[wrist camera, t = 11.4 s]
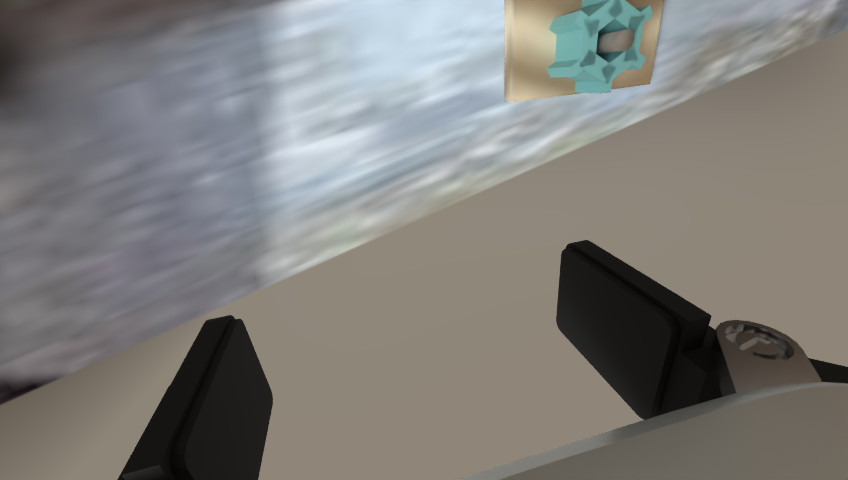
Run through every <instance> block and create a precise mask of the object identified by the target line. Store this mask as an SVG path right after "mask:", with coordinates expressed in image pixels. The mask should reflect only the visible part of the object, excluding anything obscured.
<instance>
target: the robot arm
mask: <svg viewBox="0 0 848 480" xmlns="http://www.w3.org/2000/svg"><path fill="white" fill-rule="evenodd" d="M710 319H711V315H710V314H708V313H706V312H705V311H703V310H701V309H700V308H698V307H696V306H695V305H693V304H692V303H690V302H688V301H687V300H685V299H684V298H682V297H680V296H679V295H677V294H675V293H674V292H672V291H670V290H669V289H667V288H666V287H664V286H662V285H661V284H659V283H657V282H656V281H654V280H652V279H651V278H649V277H648V276H646V275H644V274H642V273H641V272H639V271H638V270H636V269H634V268H633V267H631V266H629V265H628V264H626V263H625V262H623V261H621V260H620V259H618V258H616V257H615V256H613V255H611V254H610V253H608V252H606V251H605V250H603V249H602V248H600V247H599V246H597V245H595V244H593V243H592V242H590V241H588V240H584V241H579V242H574V243H570V244H568V245H567V246H566V249H564V250H563V251H562V254H561V266H560V278H559V291H558V304H557V317H556V322H557V325H558V328H559V330H560V331H561V332H562V333H563V334H564V335H565V336H566V338H567V339H569V341H570V342H571V343H572V344H573V345H574V346H575V347H576V348H577V349H578V351H579V352H580V353H581V354H582V355H583V356H584V357H585V358H586V359H587V360H588V361H589V363H590V364H591V365H592V366H593V367H594V368H595V369H596V370H597V371H598V372H599V373H600V375H601V376H602V377H603V378H604V379H605V380H606V381H607V382H608V383H609V384H610V386H611V387H612V388H613V389H614V390H615V391H616V392H617V393H618V394H619V395H620V396H621V397H622V399H623V400H624V401H625V402H626V403H627V404H628V405H629V406H630V407H631V408H632V409H633V410H634V411H635V413H636V414H637V415H638V416H639V417H641V418H642V419H644V420H643V421H640V422H637V423H634V424H630V425H627V426H624V427H621V428H618V429H614V430H612V431H608V432H605V433H601V434H598V435H595V436H592V437H589V438H585V439H582V440H579V441H576V442H573V443H570V444H566V445H563V446H560V447H557V448H554V449H551V450H548V451H544V452H541V453H538V454H535V455H532V456H528V457H526V458H523V459H519V460H516V461H513V462H510V463H506V464H503V465H500V466H497V467H494V468H491V469H488V470H484V471H481V472H478V473H475V474H472V475H469V476H466V477H463V478H459V479H456V480H848V367H845V366H841V365H836V364H832V363H828V362H823V361H819V360H814V359H810V358H808V357H807V356H806V354H805V353H804V351H803V349H802V348H801V347H800V346H799V345H798V343H796V341H794V340H793V339H791V338H790V337H789V336H787V335H786V334H783V333H782V332H779V331H778V330H776V329H773V328H771V327H768V326H765V325H762V324H759V323H754V322H750V321H741V320H731V321H725V322H723V323H720V324H719V325H718V326H717V328H716V330H715V329H713V328H712V327H710V326H709V322H710ZM272 404H273V398H272V392H271V389H270V386H269V384H268V381H267V379H266V377H265V374H264V372H263V369H262V367H261V364H260V362H259V360H258V357H257V354H256V352H255V350H254V347H253V345H252V342H251V340H250V337H249V335H248V332H247V330H246V327H245V325H244V323H243V321H242V320H241V319H236V320H235V318H234V317H233V316H231V315H229V316H224V317H220V318H215V319H210V320H207V321H206V322H205V323H204V325H203V326H202V328H201V330H200V332H199V334H198V336H197V337H196V339H195V341H194V343H193V345H192V347H191V348H190V350H189V352H188V354H187V356H186V358H185V359H184V361H183V363H182V365H181V367H180V369H179V371H178V372H177V374H176V376H175V378H174V380H173V381H172V383H171V385H170V386H169V387H168V389H167V391H166V393H165V394H164V396H163V398H162V400H161V402H160V403H159V405H158V407H157V409H156V411H155V413H154V414H153V416H152V418H151V420H150V422H149V423H148V425H147V427H146V429H145V431H144V433H143V434H142V436H141V438H140V440H139V442H138V444H137V445H136V447H135V449H134V451H133V453H132V455H131V456H130V458H129V460H128V462H127V464H126V466H125V468H124V469H123V471H122V473H121V474H120V476H119V478H118V480H258V477H259V471H260V467H261V462H262V456H263V451H264V446H265V440H266V436H267V431H268V425H269V420H270V415H271V410H272Z"/></svg>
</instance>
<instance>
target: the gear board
mask: <svg viewBox="0 0 848 480" xmlns="http://www.w3.org/2000/svg"><path fill="white" fill-rule="evenodd" d="M582 1H583V0H505V101H508V102H517V101H525V100H533V99H540V98H548V97H555V96H563V95H571V94H578V92H575V85H576V81H574V80H572V79H571V78H569V77H555V78H551V77H550V75H549V73H548V71H547V68H548V67H549V66H550V65H552V64H553V63H554V62H555V53H556V36H557V35H556V34H554V33H553V32H551V31H550V30H548V29H549V27H550V25H551V23H552V21H553V19H554V18H557V17H560V16H563V15H567V14H570V13H573V12H577V11H579V10H580V9H581V8H582ZM626 1H627V2H628V3H629V4H631V5H632V6H633V7H634V8H639V7H643V6H647V5H650V6H651V9H652V13H653V17H651V18H650V19H649V20H647V21H646V22H645V23H644V24H643V31H642V37H641V44H640V51H639V53H640V54H641V55H643V56H644V57H645V58H646V60H645V62H644V64H643V65H642V67H641V69H635V70H625V71H623V72H622V73H621V74H619V75H618V76H617V77H616V78H614V79H613V80H612V85H611V89H616V88H624V87H631V86H639V85H647V84H650V81H651V75H652V69H653V63H654V57H655V51H656V45H657V39H658V33H659V27H660V21H661V14H662V8H663V2H664V0H626ZM633 42H634V33H633V31H632V30H630V29H627V30H621V31H616V32H611V33H605V34H600V35H598V39H597V49H596V54H600V53H608V52H617V51H625V50H628V49H629V48H630V47H631V46H632V45H633Z"/></svg>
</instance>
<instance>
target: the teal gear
mask: <svg viewBox="0 0 848 480" xmlns="http://www.w3.org/2000/svg"><path fill="white" fill-rule="evenodd" d="M651 17H653V13H652V9H651V6H650V5H647V6H643V7H639V8H634V7H633V6H632V5H631V4H629V3H628V2H627V1H626V0H583V1H582V8H581V9H580V10H579V11H577V12H573V13H570V14H567V15H563V16H560V17H557V18H554V19H553V21H552V23H551V25H550V27H549V29H548V30H550V31H551V32H553V33H554V34H556V35H557V36H556V53H555V62H554V63H553V64H552V65H550V66H549V67H548V68H547V71H548V73H549V75H550V77H551V78H555V77H569V78H571V79H572V80H574V81H576V85H575V92H578V93H607V92H611V85H612V80H613V79H614V78H616V77H617V76H618V75H619V74H621V73H622V72H623V71H625V70H635V69H641V67H642V65H643V64H644V62H645V60H646V58H645V57H644V56H643V55H641V54H640V53H639V51H640V44H641V37H642V31H643V24H644V23H645V22H646V21H647V20H649V19H650V18H651ZM627 29H630V30H632V31H633V33H634V42H633V45H632V46H631V47H630V48H629V49H628V50H625V51H617V52H608V53H600V54H596V49H597V39H598V35H600V34H605V33H611V32H616V31H621V30H627Z"/></svg>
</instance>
